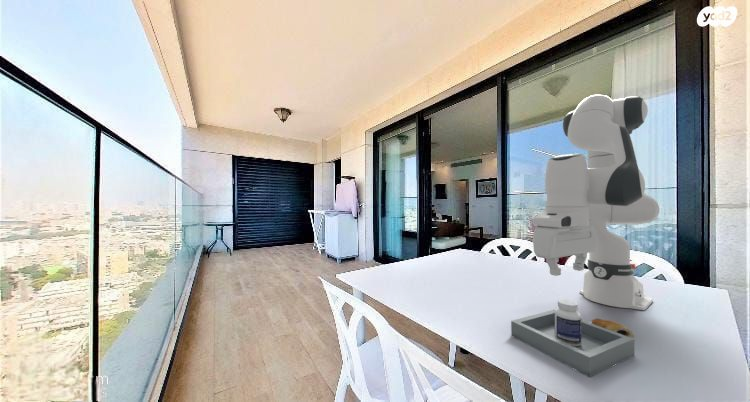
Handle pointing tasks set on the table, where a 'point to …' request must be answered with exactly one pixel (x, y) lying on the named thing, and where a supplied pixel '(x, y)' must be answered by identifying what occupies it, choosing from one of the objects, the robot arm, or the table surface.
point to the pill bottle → (568, 323)
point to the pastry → (613, 327)
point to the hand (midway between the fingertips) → (567, 272)
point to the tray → (587, 358)
